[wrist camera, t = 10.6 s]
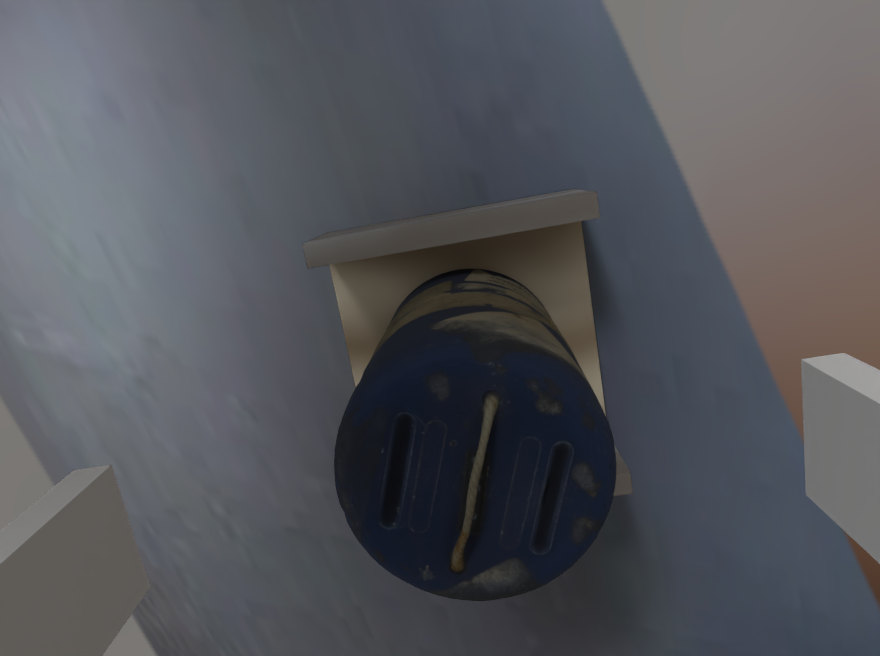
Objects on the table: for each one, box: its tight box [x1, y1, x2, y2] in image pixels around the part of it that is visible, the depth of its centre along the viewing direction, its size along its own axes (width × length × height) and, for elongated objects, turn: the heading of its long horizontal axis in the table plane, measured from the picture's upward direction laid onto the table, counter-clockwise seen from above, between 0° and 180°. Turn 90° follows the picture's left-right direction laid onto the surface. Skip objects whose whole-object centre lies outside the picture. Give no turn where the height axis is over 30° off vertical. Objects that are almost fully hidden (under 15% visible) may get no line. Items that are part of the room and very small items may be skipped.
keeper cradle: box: [302, 189, 633, 496], centre depth 35 cm, size 15×14×6 cm
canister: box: [334, 269, 616, 601], centre depth 28 cm, size 10×10×18 cm
